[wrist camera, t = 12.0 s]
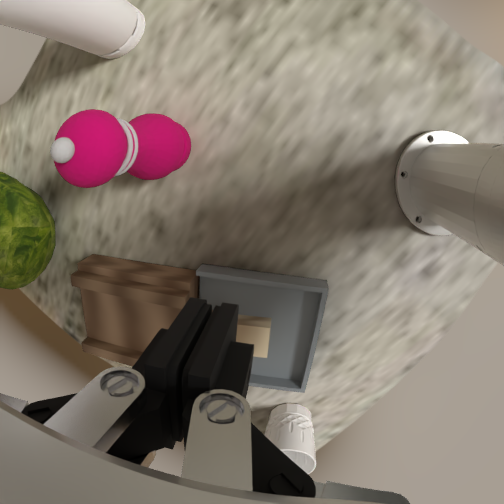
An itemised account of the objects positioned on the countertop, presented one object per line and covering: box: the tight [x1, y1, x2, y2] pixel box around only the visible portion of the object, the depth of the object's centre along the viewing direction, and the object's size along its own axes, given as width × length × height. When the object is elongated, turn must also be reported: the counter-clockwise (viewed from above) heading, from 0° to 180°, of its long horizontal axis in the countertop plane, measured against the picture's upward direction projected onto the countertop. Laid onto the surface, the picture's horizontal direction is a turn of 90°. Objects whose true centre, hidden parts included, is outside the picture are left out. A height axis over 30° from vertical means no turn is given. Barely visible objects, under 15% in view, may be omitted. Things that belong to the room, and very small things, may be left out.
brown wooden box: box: [71, 254, 199, 366], centre depth 40 cm, size 16×14×6 cm
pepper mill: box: [50, 109, 191, 188], centre depth 26 cm, size 7×7×20 cm
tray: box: [196, 264, 329, 393], centre depth 40 cm, size 15×16×2 cm
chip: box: [236, 314, 271, 358], centre depth 40 cm, size 4×4×2 cm
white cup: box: [265, 403, 316, 474], centre depth 41 cm, size 8×8×10 cm
